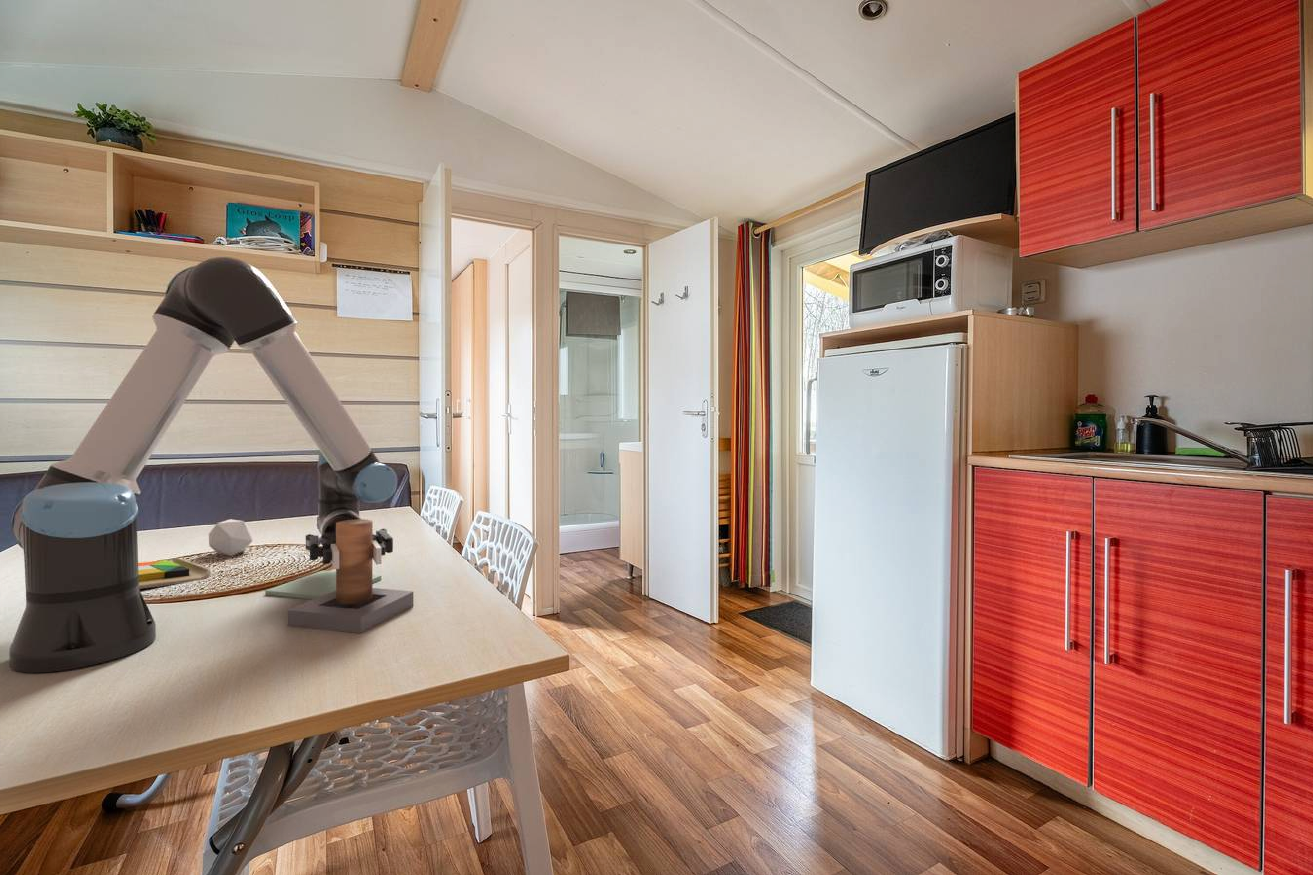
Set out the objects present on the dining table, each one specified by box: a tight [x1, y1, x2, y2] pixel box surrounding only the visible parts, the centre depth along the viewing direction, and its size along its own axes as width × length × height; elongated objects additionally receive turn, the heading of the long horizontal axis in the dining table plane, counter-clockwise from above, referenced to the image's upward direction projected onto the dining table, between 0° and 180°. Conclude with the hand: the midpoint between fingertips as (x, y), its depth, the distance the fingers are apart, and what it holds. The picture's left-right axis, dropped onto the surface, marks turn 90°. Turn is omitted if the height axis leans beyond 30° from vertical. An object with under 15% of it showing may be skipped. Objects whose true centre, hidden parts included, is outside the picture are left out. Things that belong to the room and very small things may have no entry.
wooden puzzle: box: [138, 557, 212, 590], centre depth 119 cm, size 18×19×4 cm
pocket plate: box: [286, 587, 414, 634], centre depth 102 cm, size 14×14×2 cm
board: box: [264, 570, 382, 600], centre depth 117 cm, size 14×14×1 cm
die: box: [208, 519, 253, 557], centre depth 141 cm, size 8×9×10 cm
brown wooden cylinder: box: [335, 518, 373, 604], centre depth 102 cm, size 6×6×13 cm
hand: (358, 558), depth 97 cm, fingers closed on brown wooden cylinder, 5 cm apart
